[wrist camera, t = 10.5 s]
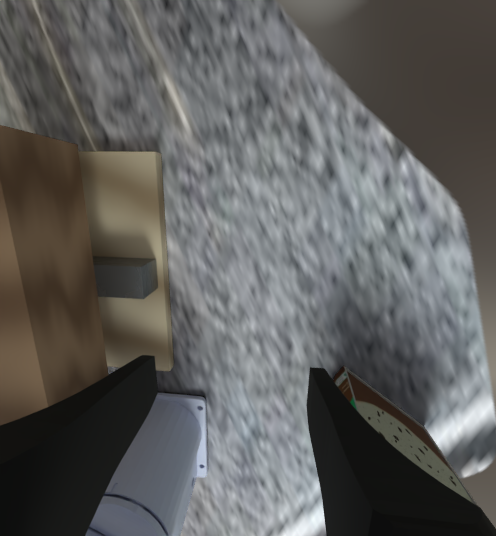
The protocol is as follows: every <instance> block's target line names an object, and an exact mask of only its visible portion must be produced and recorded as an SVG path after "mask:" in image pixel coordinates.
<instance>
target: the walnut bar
mask: <svg viewBox="0 0 496 536" xmlns="http://www.w3.org/2000/svg"><path fill="white" fill-rule="evenodd" d="M106 376H108V368H107V361H106V353H105V346H104V338H103V331H102V324H101V316H100V309H99V301H98V294H97V286H96V279H95V272H94V264H93V257H92V249H91V242H90V234H89V227H88V219H87V212H86V205H85V197H84V190H83V182H82V175H81V167H80V160H79V153H78V145H77V144H73V143H69V142H65V141H61V140H57V139H53V138H49V137H45V136H41V135H37V134H33V133H29V132H26V131H22V130H18V129H14V128H10V127H6V126H2V125H0V425H3V424H6V423H9V422H12V421H14V420H17V419H20V418H22V417H25V416H27V415H30V414H32V413H34V412H37V411H39V410H42V409H44V408H47V407H49V406H51V405H53V404H56V403H58V402H60V401H62V400H64V399H66V398H68V397H70V396H72V395H74V394H76V393H78V392H80V391H82V390H83V389H85V388H87V387H89V386H90V385H92V384H94V383H96V382H98V381H99V380H101V379H103V378H105V377H106Z"/></svg>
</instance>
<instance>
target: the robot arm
mask: <svg viewBox="0 0 496 536" xmlns="http://www.w3.org/2000/svg"><path fill="white" fill-rule="evenodd" d="M199 406H202V407H199ZM307 415H308V425H309V432H310V437H311V443H312V448H313V452H314V457H315V462H316V467H317V472H318V477H319V482H320V487H321V493H322V500H323V508H324V516H325V525H326V534H327V536H496V529H495V527H494V526H493V525H492V523H491V522H490V520H489V519H488V518H487V516H486V515H485V514H484V512H483V511H482V509H481V508H480V507H478V506H477V505H475V504H474V503H472V502H470V501H469V500H467V499H466V498H464V497H463V496H461V495H460V494H458V493H456V492H455V491H453V490H452V489H450V488H449V487H447V486H445V485H444V484H442V483H441V482H440V481H438V480H437V479H435V478H434V477H433V476H431V475H430V474H428V473H427V472H426V471H424V470H423V469H421V468H420V467H419V466H417V465H416V464H415V463H413V462H412V461H411V460H410V459H408V458H407V457H406V456H405V455H403V454H402V453H401V452H400V451H399V450H397V449H396V448H395V447H394V446H393V445H391V444H390V443H389V442H388V441H387V440H386V439H385V438H384V437H382V436H381V435H380V434H379V433H378V432H377V431H376V430H375V429H374V428H373V427H372V426H371V425H370V424H369V423H368V422H367V421H366V420H365V419H364V418H363V417H362V416H361V414H360V413H359V412H358V411H357V410H356V409H355V408H354V406H353V405H352V404H351V403H350V402H349V400H348V399H347V398H346V397H345V396H344V394H343V393H342V392H341V390H340V389H339V388H338V386H337V385H336V384H335V382H334V381H333V380H332V378H331V377H330V376H329V374H328V373H327V371H326V370H325V369H323V368H310V375H309V386H308V397H307ZM207 473H208V456H207V417H206V399H205V398H204V397H201V396H190V395H179V394H168V393H158V389H157V377H156V365H155V356H151V355H141V356H139V357H137V358H136V359H134V360H132V361H131V362H129V363H127V364H126V365H124V366H123V367H121V368H119V369H118V370H116V371H114V372H113V373H111V374H109V375H108V376H106V377H105V378H103V379H101V380H99V381H98V382H96V383H94V384H92V385H90V386H89V387H87V388H85V389H83V390H82V391H80V392H78V393H76V394H74V395H72V396H70V397H68V398H66V399H64V400H62V401H60V402H58V403H56V404H53V405H51V406H49V407H47V408H44V409H42V410H39V411H37V412H34V413H32V414H30V415H27V416H25V417H22V418H20V419H17V420H14V421H12V422H9V423H6V424H3V425H0V536H180V534H181V531H182V527H183V524H184V520H185V517H186V513H187V510H188V506H189V502H190V499H191V495H192V492H193V488H194V485H195V481H196V478H197V477H206V476H207Z"/></svg>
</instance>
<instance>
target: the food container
mask: <svg viewBox="0 0 496 536" xmlns="http://www.w3.org/2000/svg"><path fill="white" fill-rule="evenodd" d="M333 381H334V382H335V384H336V385H337V386H338V388H339V389H340V390H341V392H342V393H343V394H344V396H345V397H346V398H347V399H348V400H349V402H350V403H351V404H352V405H353V406H354V408H355V409H356V410H357V411H358V412H359V413H360V414H361V416H362V417H363V418H364V419H365V420H366V421H367V422H368V423H369V424H370V425H371V426H372V427H373V428H374V429H375V430H376V431H377V432H378V433H379V434H380V435H381V436H382V437H384V438H385V439H386V440H387V441H388V442H389V443H390V444H391V445H393V446H394V447H395V448H396V449H397V450H399V451H400V452H401V453H402V454H403V455H405V456H406V457H407V458H408V459H410V460H411V461H412V462H413V463H415V464H416V465H417V466H419V467H420V468H421V469H423V470H424V471H426V472H427V473H428V474H430V475H431V476H433V477H434V478H435V479H437V480H438V481H440V482H441V483H442V484H444V485H445V486H447V487H449V488H450V489H452V490H453V491H455V492H456V493H458V494H460V495H461V496H463V497H464V498H466V499H467V500H469V501H470V502H472V503H474V504H475V505H477V503H476V502H475V500H474V499H473V497H472V496H471V494H470V493H469V491H468V490H467V488H466V487H465V486H464V484H463V483H462V481H461V480H460V478H459V477H458V475H457V474H456V472H455V471H454V469H453V468H452V467H451V465H450V464H449V462H448V461H447V459H446V458H445V456H444V455H443V453H442V452H441V450H440V449H439V448H438V446H437V445H436V443H435V442H434V440H433V439H432V437H431V436H430V434H429V433H428V431H427V430H426V429H425V427H424V426H423V425H422V424H420V423H419V422H418V421H416V420H415V419H414V418H412V417H411V416H410V415H408V414H407V413H406V412H404V411H403V410H402V409H400V408H399V407H398V406H396V405H395V404H394V403H393V402H391V401H390V400H389V399H387V398H386V397H385V396H383V395H382V394H381V393H379V392H378V391H377V390H375V389H374V388H373V387H371V386H370V385H369V384H367V383H366V382H365V381H363V380H362V379H361V378H360V377H358V376H357V375H356V374H354V373H353V372H352V371H350V370H349V369H348V368H346V367H345V366H343V367H342V368H341V369H340V370H339V371H338V372H337V374H336V375H335V377H334V379H333ZM477 506H478V505H477ZM478 507H479V506H478Z"/></svg>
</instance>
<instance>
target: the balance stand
mask: <svg viewBox="0 0 496 536" xmlns="http://www.w3.org/2000/svg"><path fill="white" fill-rule="evenodd" d="M78 153H79V160H80V167H81V175H82V182H83V190H84V197H85V205H86V212H87V219H88V227H89V234H90V242H91V249H92V257H93V264H94V272H95V279H96V286H97V294H98V301H99V309H100V316H101V324H102V331H103V338H104V346H105V353H106V361H107V366H109V367H123V366H124V365H126V364H127V363H129V362H131V361H132V360H134V359H136V358H137V357H139V356H141V355H151V356H155V365H156V370H157V371H170V370H171V369H172V367H173V365H174V358H173V341H172V325H171V309H170V292H169V276H168V259H167V243H166V227H165V210H164V194H163V177H162V161H161V154H160V153H157V152H110V151H78Z"/></svg>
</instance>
